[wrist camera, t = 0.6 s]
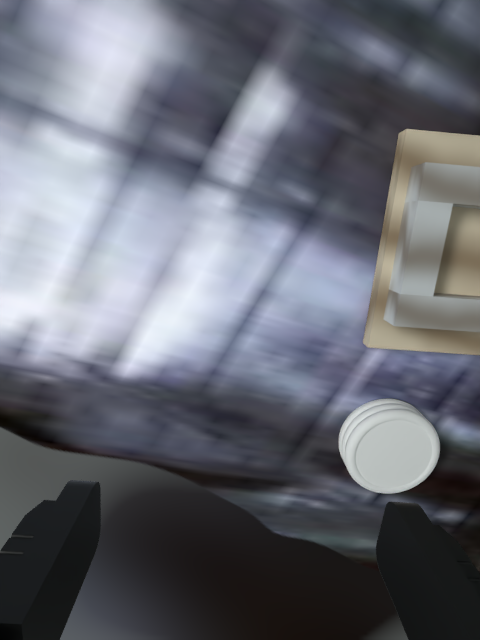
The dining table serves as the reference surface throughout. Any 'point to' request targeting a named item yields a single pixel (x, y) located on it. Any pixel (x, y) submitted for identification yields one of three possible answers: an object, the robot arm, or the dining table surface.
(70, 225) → the dining table surface
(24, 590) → the robot arm
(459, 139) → the socket board
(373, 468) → the white ribbed disc
